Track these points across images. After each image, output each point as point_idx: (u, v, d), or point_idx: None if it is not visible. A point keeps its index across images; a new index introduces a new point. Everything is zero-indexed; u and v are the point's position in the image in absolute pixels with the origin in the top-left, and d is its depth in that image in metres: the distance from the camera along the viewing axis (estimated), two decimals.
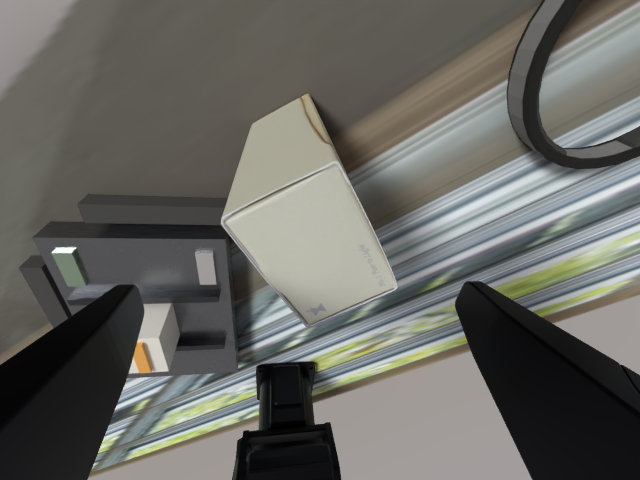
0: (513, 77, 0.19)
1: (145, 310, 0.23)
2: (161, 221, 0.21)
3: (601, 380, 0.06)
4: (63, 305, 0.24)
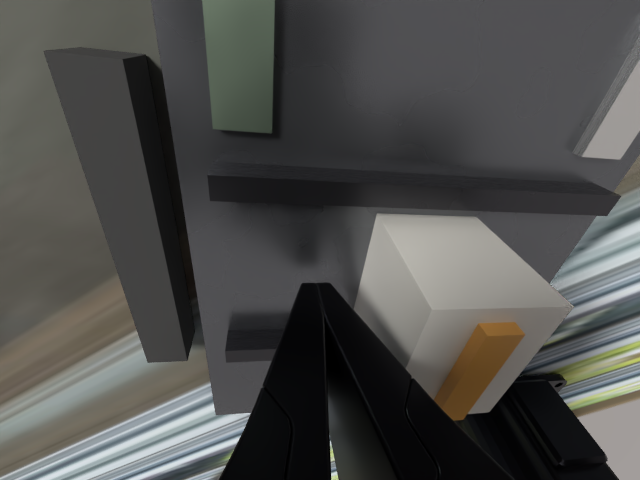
0: None
1: (436, 232, 0.08)
2: None
3: (371, 397, 0.05)
4: (160, 223, 0.09)
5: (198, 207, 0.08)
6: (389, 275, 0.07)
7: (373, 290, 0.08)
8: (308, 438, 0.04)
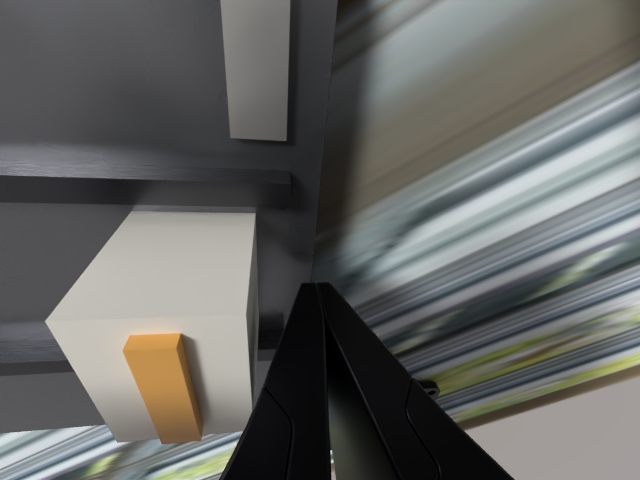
0: None
1: (179, 230, 0.07)
2: None
3: (371, 397, 0.05)
4: None
5: None
6: None
7: None
8: (308, 438, 0.04)
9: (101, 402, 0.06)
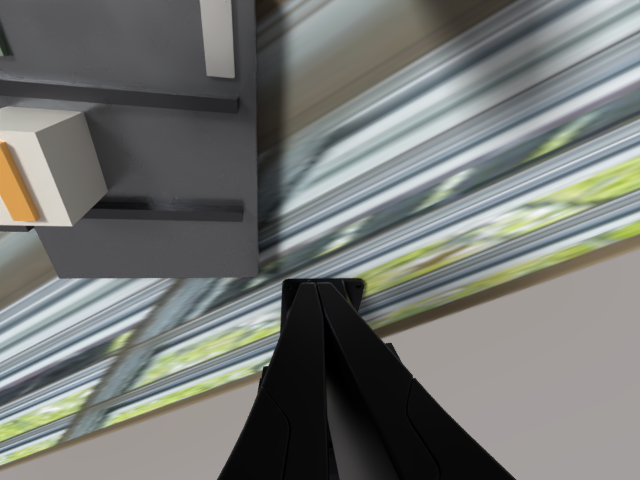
0: None
1: (28, 113, 0.13)
2: None
3: (372, 397, 0.05)
4: None
5: None
6: None
7: None
8: (307, 438, 0.04)
9: None
